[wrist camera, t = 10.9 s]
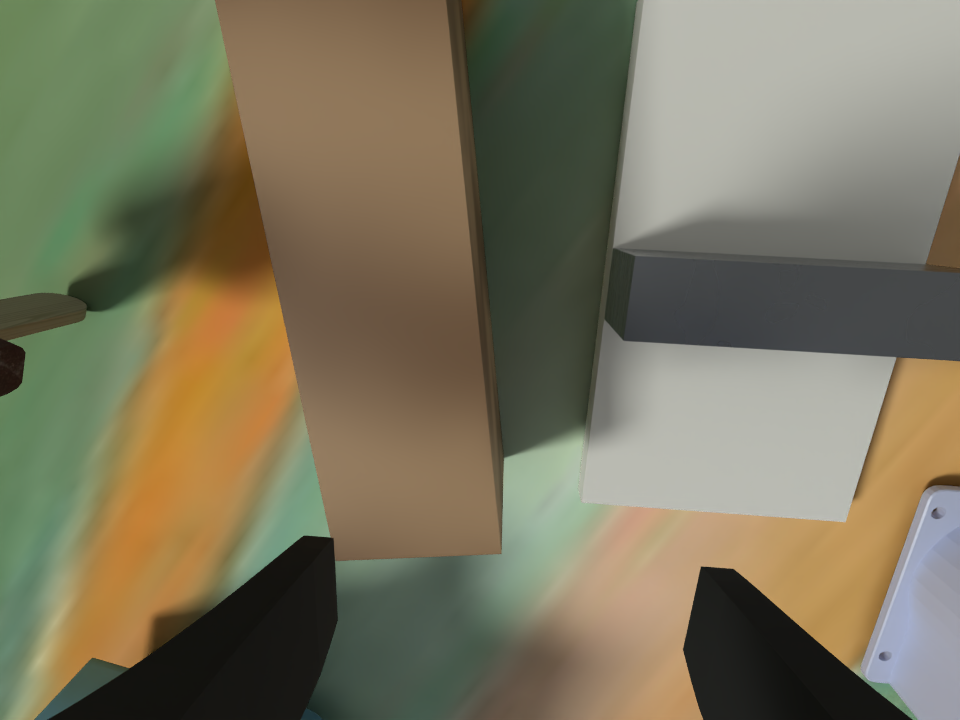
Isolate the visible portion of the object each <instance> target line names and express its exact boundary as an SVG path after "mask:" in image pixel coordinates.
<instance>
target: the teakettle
mask: <svg viewBox="0 0 960 720" xmlns="http://www.w3.org/2000/svg"><path fill="white" fill-rule="evenodd" d="M128 669H130V668H126V667H123V666H119V665H116V664H113V663H109V662H106V661H103V660H99V659H96V658H92V659H91V660H90V661H89V662H88V663H87V664H86V665H85V666H84V667H83V668H82V669H81V670H80V671H79V672H78V673H77V674H76V676H75V677H74V678H73V679H72V680H71V681H70V682H69V683H68V684H67V685H66V686H65V687H64V688H63V689H62V691H61V692H60V693H59V694H58V695H57V696H56V697H55V698H54V699H53V700H52V701H51V702H50V703H49V704H48V706H47V707H46V708H45V709H44V710H43V711H42V712H41V713H40V714H39V715H38V716H37V717H36V718H35V719H34V720H47V719H49V718H51V717H53V716H54V715H56V714H58V713H60V712H61V711H63V710H65V709H66V708H68V707H70V706H71V705H73V704H75V703H76V702H78V701H80V700H81V699H83V698H84V697H86V696H88V695H89V694H91V693H92V692H94V691H95V690H97V689H99V688H100V687H102V686H103V685H105V684H106V683H108V682H110V681H111V680H113V679H114V678H116V677H117V676H119V675H121V674H122V673H124V672H125V671H127V670H128ZM301 720H323V719H322V718H321V717H320V716H319V715H317V714H316V713H315V712H313V711H311V710H309V709H305V711H304V713H303V716H302V718H301Z"/></svg>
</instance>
